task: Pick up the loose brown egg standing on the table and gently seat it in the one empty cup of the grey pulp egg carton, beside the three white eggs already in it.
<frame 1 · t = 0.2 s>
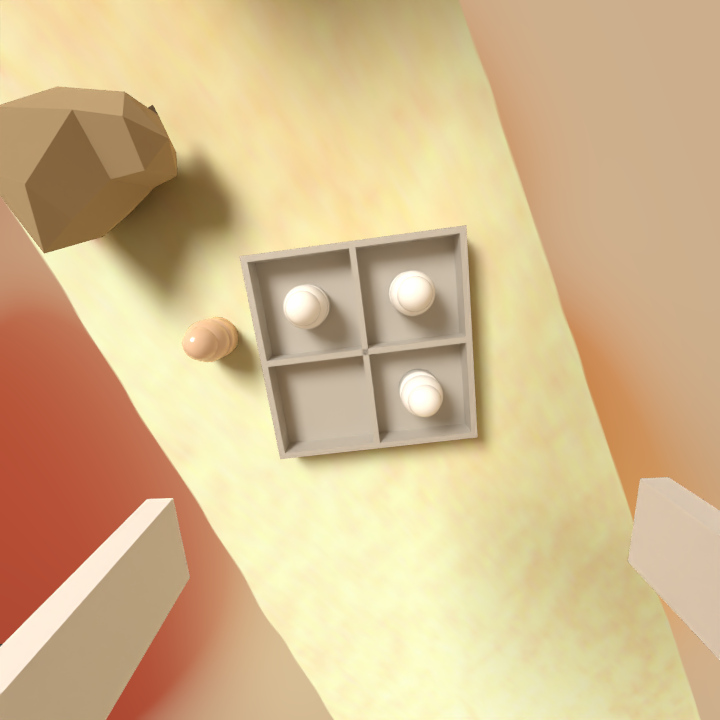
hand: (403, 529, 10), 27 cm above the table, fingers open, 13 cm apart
white egg 2: (409, 292, 34), point 1 cm above the table, touching carton
low-poly potato: (133, 182, 33), on the table
carton: (365, 346, 36), on the table
white egg 3: (417, 387, 37), point 1 cm above the table, touching carton
brown egg: (218, 336, 36), on the table
white egg 1: (310, 305, 35), point 1 cm above the table, touching carton
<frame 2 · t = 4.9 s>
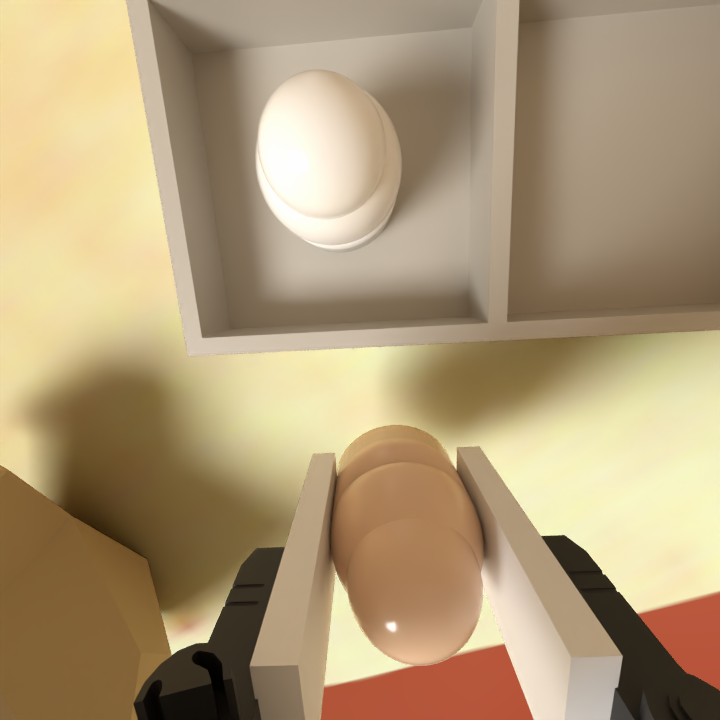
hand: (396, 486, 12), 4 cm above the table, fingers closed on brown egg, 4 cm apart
low-poly potato: (93, 540, 17), on the table
carton: (475, 29, 12), on the table
brown egg: (394, 479, 12), point 3 cm above the table, touching gripper
white egg 1: (339, 193, 13), point 1 cm above the table, touching carton
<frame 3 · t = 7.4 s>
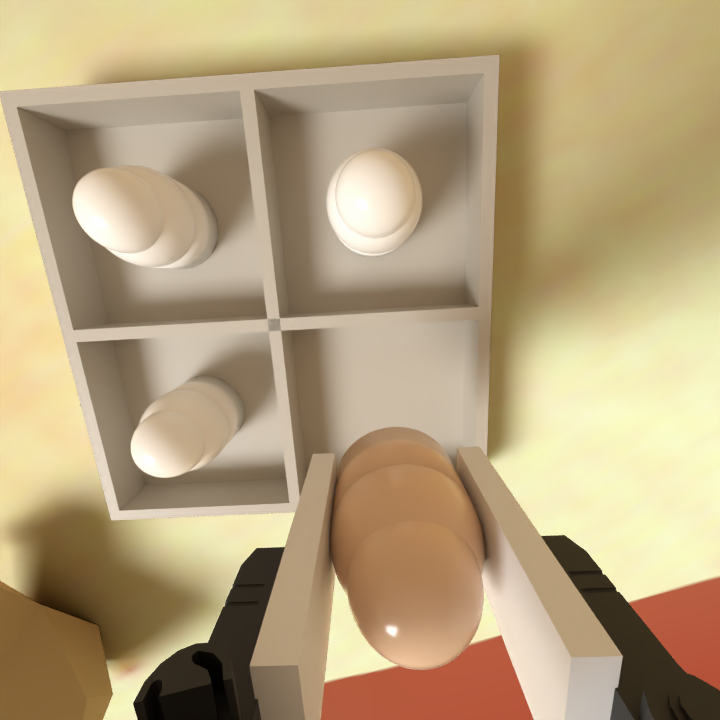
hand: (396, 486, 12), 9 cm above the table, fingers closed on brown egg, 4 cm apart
white egg 2: (178, 227, 18), point 1 cm above the table, touching carton
low-poly potato: (59, 612, 25), on the table
carton: (287, 318, 19), on the table
white egg 3: (372, 215, 18), point 1 cm above the table, touching carton
brown egg: (394, 481, 12), point 9 cm above the table, touching gripper
white egg 1: (209, 410, 20), point 1 cm above the table, touching carton
when the fingers open (1 cm above the table, at t = 10.0 s): brown egg stays where it is, resting on carton.
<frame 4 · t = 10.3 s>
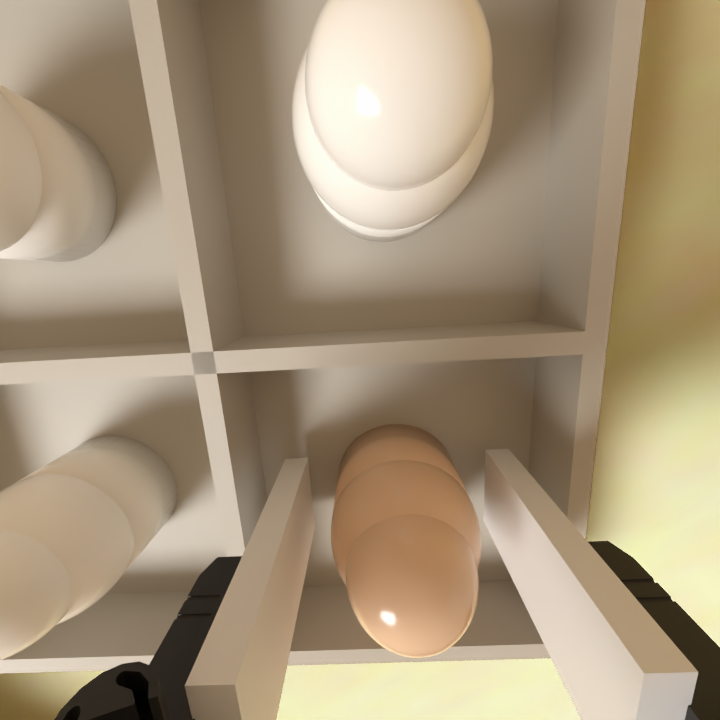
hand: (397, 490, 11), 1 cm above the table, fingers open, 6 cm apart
white egg 2: (47, 190, 10), point 1 cm above the table, touching carton
carton: (243, 342, 12), on the table
white egg 3: (383, 167, 10), point 1 cm above the table, touching carton
brown egg: (395, 477, 12), point 1 cm above the table, touching carton
white egg 1: (121, 487, 13), point 1 cm above the table, touching carton
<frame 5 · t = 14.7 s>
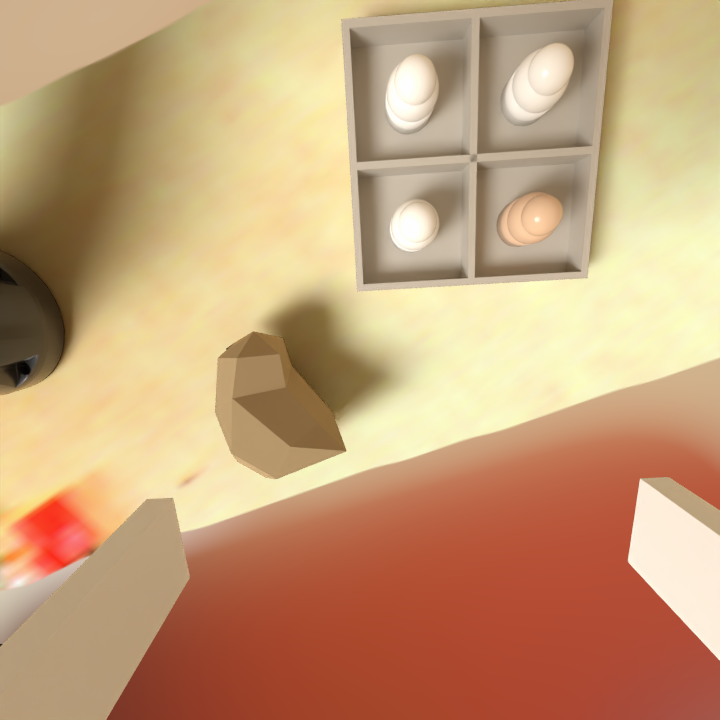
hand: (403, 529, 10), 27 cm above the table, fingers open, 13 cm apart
white egg 2: (408, 107, 30), point 1 cm above the table, touching carton
low-poly potato: (285, 387, 37), on the table
carton: (463, 169, 32), on the table
white egg 3: (524, 99, 30), point 1 cm above the table, touching carton
brown egg: (518, 223, 32), point 1 cm above the table, touching carton
white egg 1: (410, 229, 32), point 1 cm above the table, touching carton
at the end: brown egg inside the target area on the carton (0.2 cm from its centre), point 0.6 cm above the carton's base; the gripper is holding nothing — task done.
